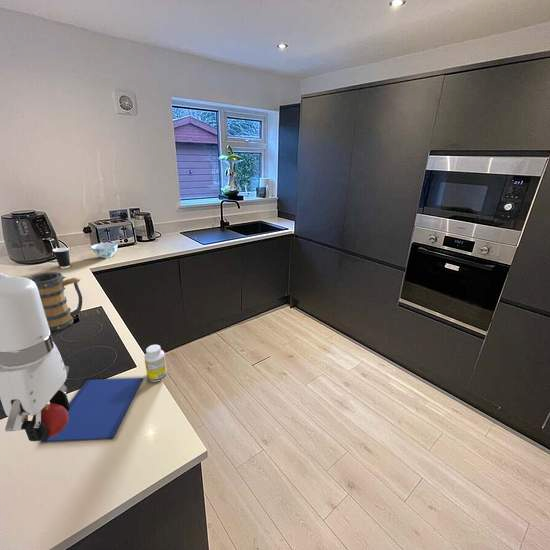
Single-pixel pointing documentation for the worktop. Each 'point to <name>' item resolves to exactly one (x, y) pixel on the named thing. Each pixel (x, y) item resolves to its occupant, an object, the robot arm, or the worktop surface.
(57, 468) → the worktop surface
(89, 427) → the cloth
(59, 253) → the dixie cup
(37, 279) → the mug
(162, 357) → the supplement bottle
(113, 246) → the chinaware
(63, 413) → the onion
